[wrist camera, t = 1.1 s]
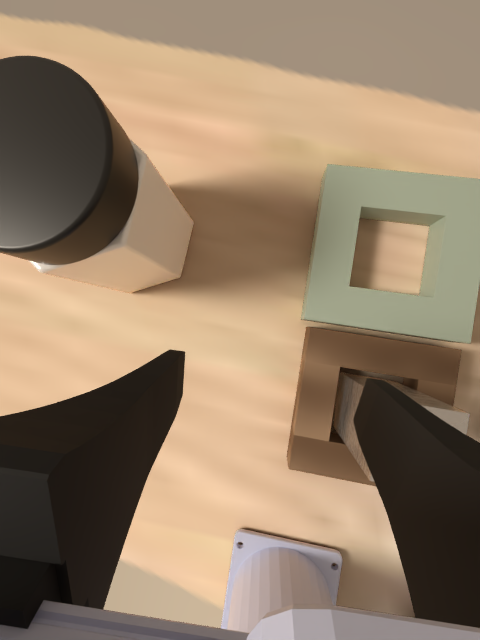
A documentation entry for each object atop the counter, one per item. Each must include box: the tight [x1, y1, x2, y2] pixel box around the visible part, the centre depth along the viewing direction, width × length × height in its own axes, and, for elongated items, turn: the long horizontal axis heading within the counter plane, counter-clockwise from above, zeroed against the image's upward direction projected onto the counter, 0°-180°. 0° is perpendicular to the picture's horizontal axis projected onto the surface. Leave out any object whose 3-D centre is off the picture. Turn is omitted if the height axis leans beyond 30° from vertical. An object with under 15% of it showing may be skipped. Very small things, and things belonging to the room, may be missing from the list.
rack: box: [301, 164, 480, 344], centre depth 21 cm, size 11×11×2 cm
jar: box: [0, 56, 194, 293], centre depth 18 cm, size 9×8×12 cm
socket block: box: [287, 327, 461, 486], centre depth 21 cm, size 10×10×2 cm
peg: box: [332, 372, 470, 482], centre depth 18 cm, size 4×4×8 cm
